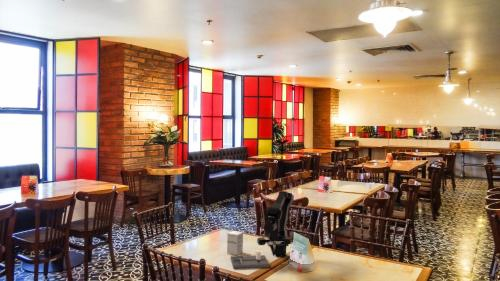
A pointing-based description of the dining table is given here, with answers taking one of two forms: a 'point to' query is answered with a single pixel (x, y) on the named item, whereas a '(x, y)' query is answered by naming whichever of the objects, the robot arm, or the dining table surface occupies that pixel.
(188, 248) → the dining table surface
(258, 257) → the fader tab
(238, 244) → the supplement box
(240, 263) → the console
